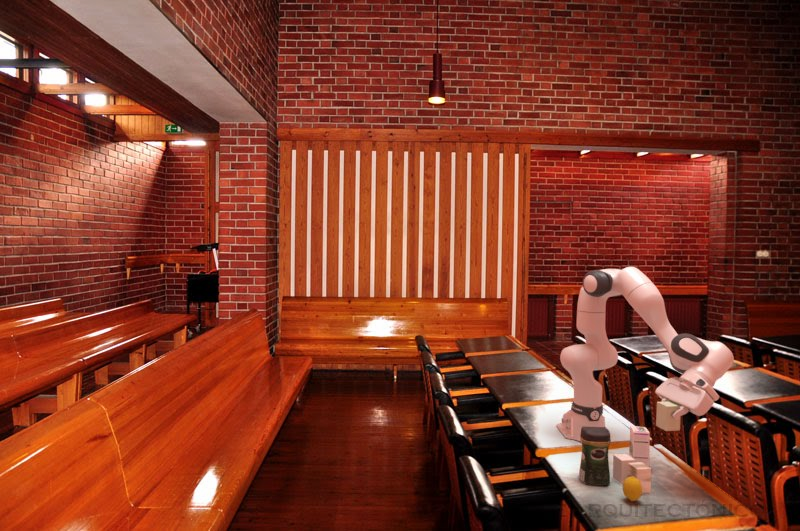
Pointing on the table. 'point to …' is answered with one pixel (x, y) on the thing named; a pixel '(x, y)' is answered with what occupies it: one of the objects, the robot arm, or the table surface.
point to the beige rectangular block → (667, 416)
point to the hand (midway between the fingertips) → (666, 414)
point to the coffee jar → (595, 456)
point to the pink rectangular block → (621, 467)
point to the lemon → (632, 488)
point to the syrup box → (639, 444)
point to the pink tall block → (641, 475)
